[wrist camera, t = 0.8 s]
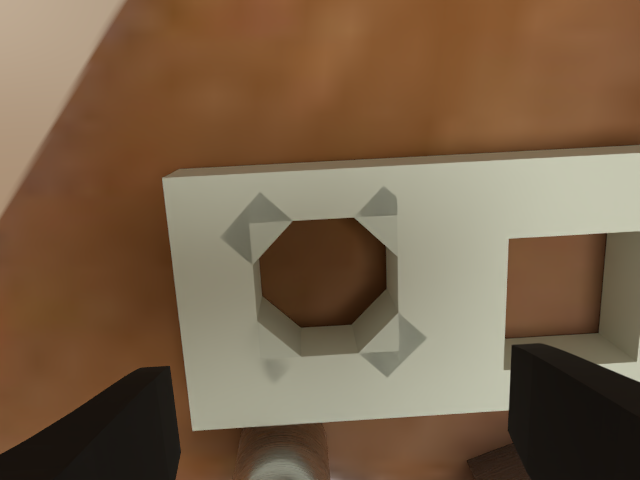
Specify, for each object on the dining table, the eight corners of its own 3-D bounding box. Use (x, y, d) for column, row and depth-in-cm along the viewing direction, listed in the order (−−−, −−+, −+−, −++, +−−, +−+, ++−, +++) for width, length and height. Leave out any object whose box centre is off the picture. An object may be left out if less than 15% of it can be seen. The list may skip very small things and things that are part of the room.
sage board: (646, 366, 22) (689, 398, 19) (204, 394, 21) (192, 430, 19) (670, 143, 20) (723, 148, 17) (179, 169, 19) (161, 178, 17)
